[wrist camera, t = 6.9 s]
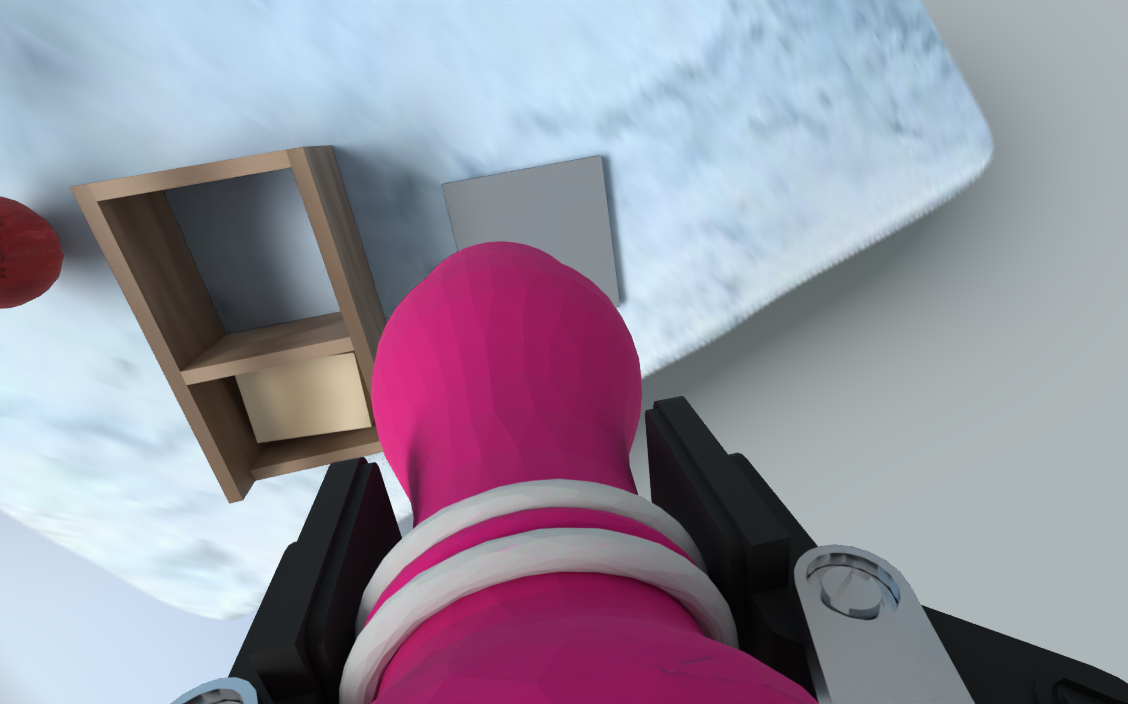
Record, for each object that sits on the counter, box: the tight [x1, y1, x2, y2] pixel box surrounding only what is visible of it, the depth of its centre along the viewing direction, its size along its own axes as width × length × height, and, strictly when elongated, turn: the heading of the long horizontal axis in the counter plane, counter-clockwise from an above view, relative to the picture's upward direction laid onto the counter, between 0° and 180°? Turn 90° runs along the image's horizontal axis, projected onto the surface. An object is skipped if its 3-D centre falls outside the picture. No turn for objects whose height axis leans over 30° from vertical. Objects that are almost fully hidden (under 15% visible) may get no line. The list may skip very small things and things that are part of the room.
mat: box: [442, 156, 620, 307], centre depth 35 cm, size 10×10×1 cm
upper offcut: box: [235, 351, 374, 443], centre depth 34 cm, size 7×5×2 cm
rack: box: [70, 145, 387, 503], centre depth 32 cm, size 11×18×6 cm, turn 9°
